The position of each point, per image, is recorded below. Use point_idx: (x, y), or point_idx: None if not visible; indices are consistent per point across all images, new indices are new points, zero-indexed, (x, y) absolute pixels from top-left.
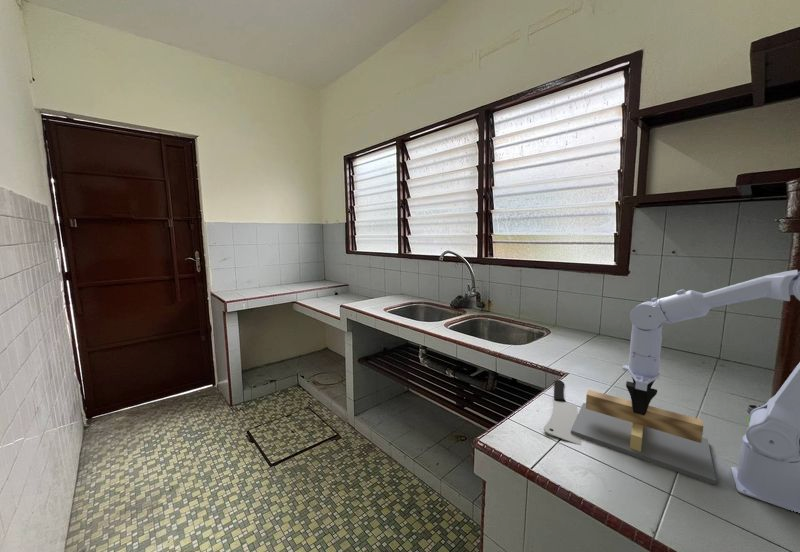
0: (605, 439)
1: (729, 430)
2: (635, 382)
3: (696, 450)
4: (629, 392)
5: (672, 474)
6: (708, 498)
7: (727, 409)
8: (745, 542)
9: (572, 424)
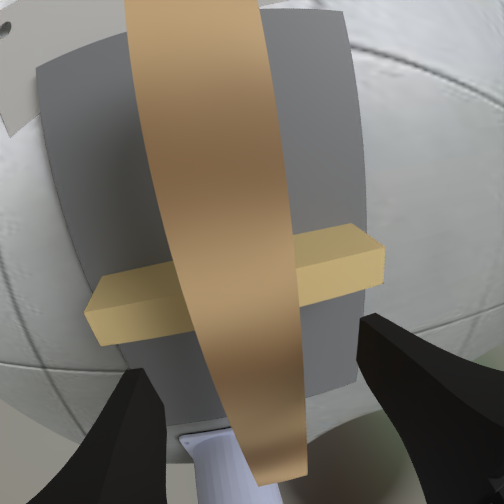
0: (76, 191)
1: None
2: (440, 401)
3: None
4: (30, 500)
5: (116, 366)
6: None
7: (493, 336)
8: (60, 433)
9: (113, 34)
